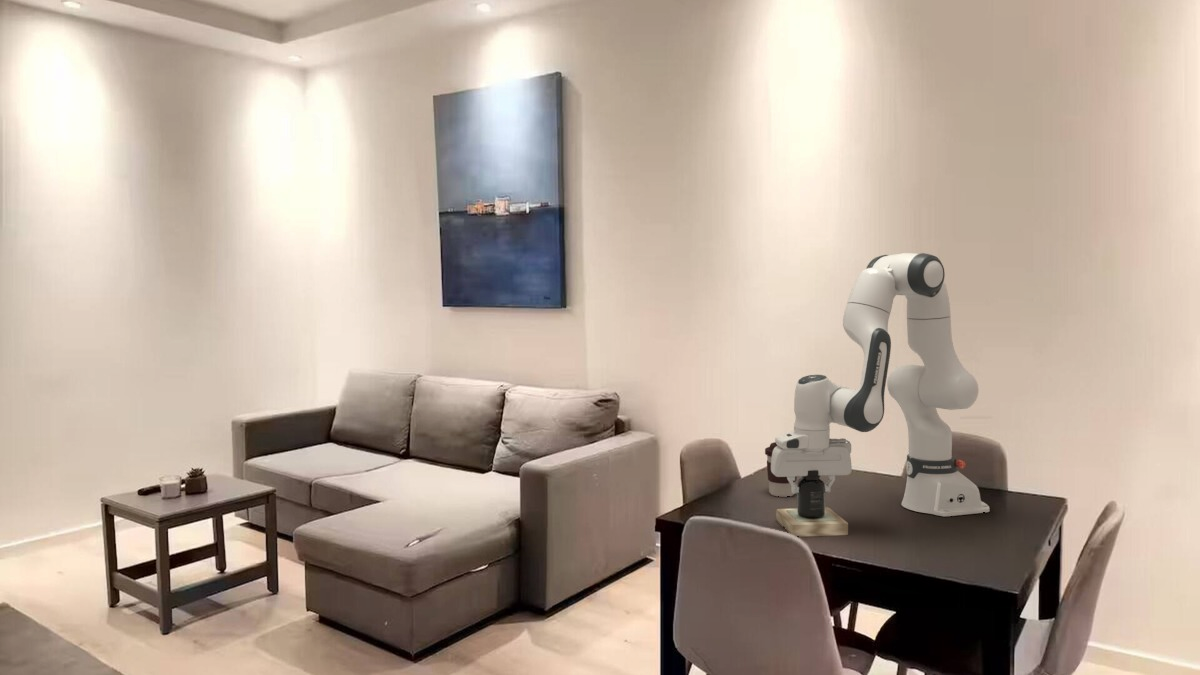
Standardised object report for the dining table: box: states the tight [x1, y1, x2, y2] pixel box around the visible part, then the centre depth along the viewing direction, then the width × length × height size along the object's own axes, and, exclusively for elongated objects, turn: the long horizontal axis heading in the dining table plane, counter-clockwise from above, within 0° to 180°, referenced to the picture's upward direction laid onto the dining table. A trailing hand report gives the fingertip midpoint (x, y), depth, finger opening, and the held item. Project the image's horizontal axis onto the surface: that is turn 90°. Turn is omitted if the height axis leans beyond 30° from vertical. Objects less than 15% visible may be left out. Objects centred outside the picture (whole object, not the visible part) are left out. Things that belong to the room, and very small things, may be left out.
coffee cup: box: [764, 441, 798, 498], centre depth 243 cm, size 10×10×15 cm
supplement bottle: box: [796, 470, 826, 518], centre depth 210 cm, size 7×7×12 cm
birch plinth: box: [775, 506, 849, 538], centre depth 211 cm, size 14×14×3 cm
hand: (810, 492), depth 210 cm, fingers closed on supplement bottle, 7 cm apart
